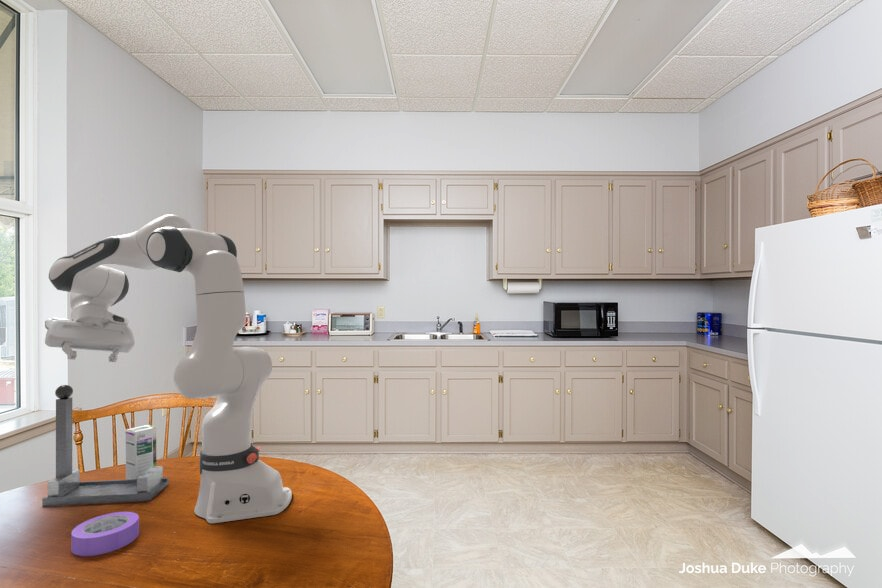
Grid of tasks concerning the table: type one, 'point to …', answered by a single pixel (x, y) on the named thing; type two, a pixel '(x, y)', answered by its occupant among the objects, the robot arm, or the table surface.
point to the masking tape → (104, 533)
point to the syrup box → (140, 450)
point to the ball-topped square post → (64, 446)
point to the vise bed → (114, 490)
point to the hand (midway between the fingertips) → (93, 359)
